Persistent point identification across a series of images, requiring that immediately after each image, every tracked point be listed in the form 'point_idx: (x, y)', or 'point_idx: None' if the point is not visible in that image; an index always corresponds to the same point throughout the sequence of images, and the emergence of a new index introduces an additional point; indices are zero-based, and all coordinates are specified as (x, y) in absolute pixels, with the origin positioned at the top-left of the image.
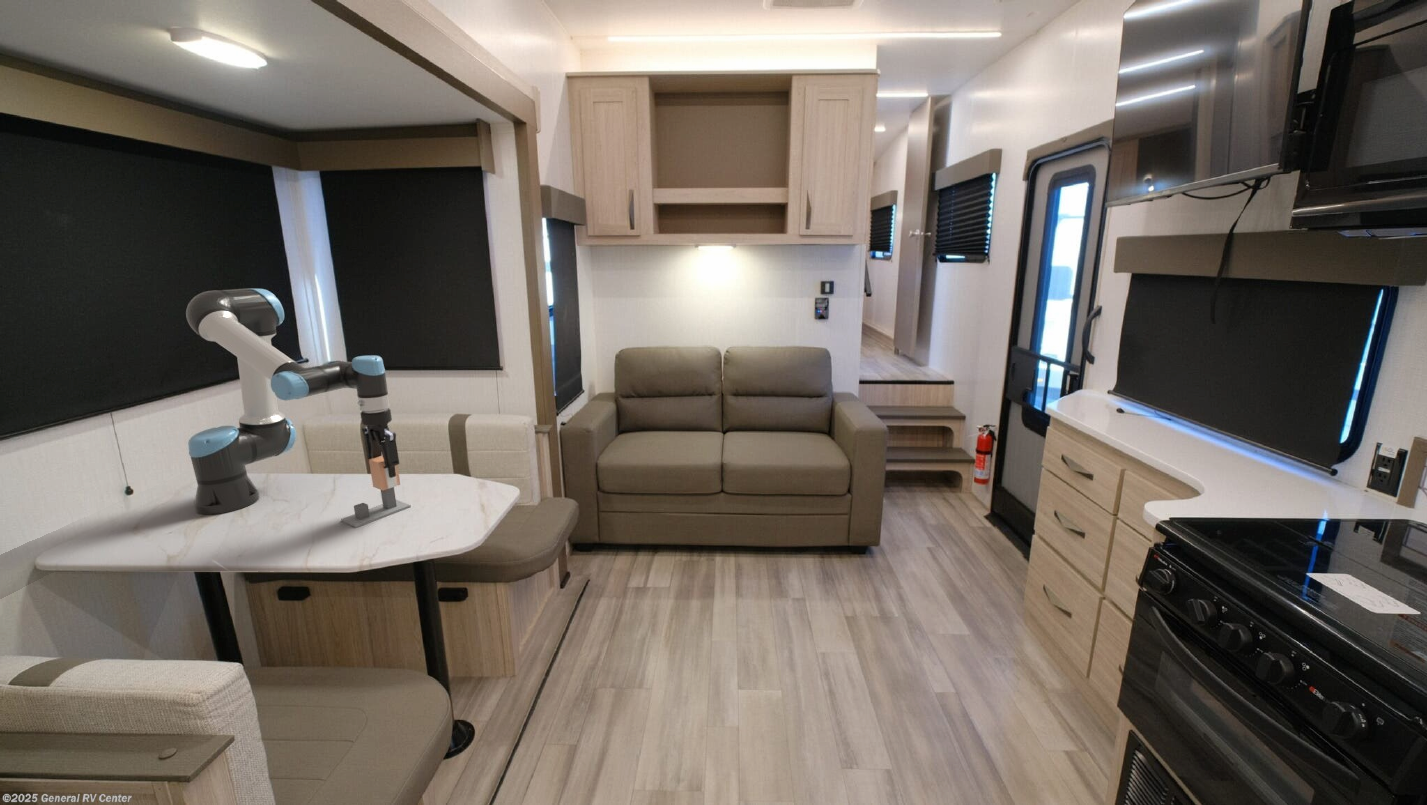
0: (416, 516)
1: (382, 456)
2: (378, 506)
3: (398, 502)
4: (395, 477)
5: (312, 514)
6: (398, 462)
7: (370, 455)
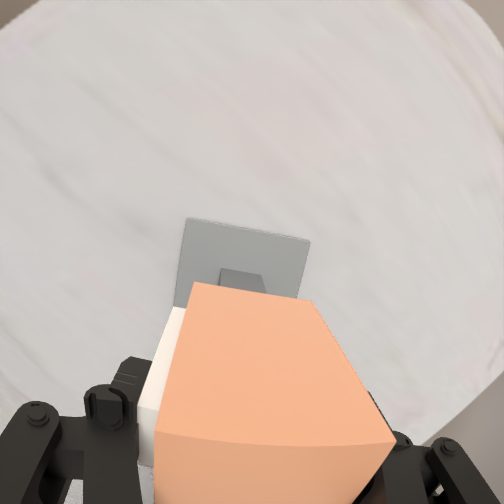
0: (386, 291)
1: (188, 481)
2: (185, 304)
3: (231, 240)
4: None
5: (41, 388)
6: (459, 453)
7: (62, 487)
